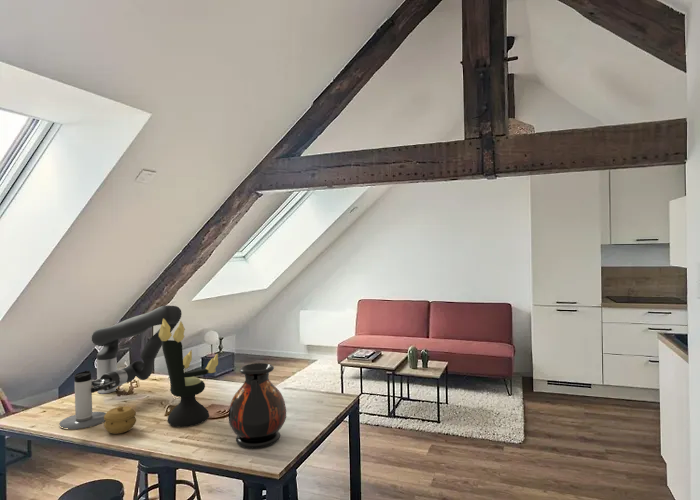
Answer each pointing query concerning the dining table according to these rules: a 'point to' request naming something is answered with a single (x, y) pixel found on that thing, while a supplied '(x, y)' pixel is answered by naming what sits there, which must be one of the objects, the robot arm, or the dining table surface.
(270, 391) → the black and orange vase
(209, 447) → the dining table surface
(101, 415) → the charcoal trivet
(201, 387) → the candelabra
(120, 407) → the pot
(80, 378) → the travel mug
